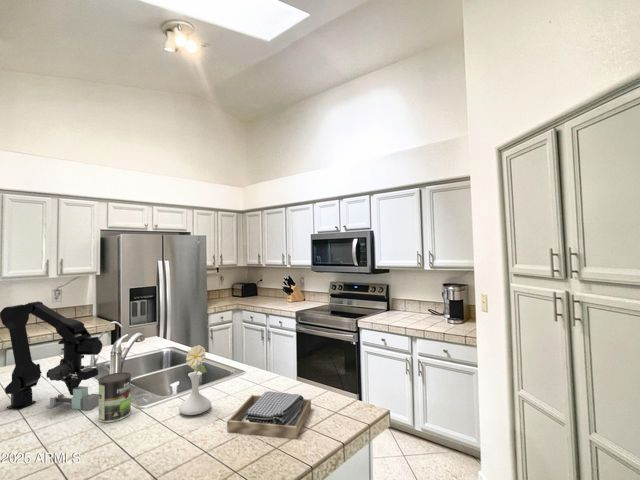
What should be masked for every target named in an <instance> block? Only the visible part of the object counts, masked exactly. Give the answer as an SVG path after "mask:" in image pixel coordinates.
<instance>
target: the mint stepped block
mask: <svg viewBox="0 0 640 480" xmlns="http://www.w3.org/2000/svg"><path fill="white" fill-rule="evenodd" d="M89 395H90V394H89V386H81V385H79V386H78V387H77V388H74V389H73V395H72V397H71V398H72V403H71V409H72V410H83V405H82V400H83V398H85V397H87V396H89Z"/></svg>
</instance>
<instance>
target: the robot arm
mask: <svg viewBox="0 0 640 480" xmlns="http://www.w3.org/2000/svg"><path fill="white" fill-rule="evenodd" d="M30 315H32V316H35V317H36V318H37V319H39V320H41V321H43V322H45V323H47V324H48V325H50V326H51V327H53V328H54V329H55V331H56V334H58V335H59V336H60V337H61V338H62V339H60V340H59V341H58V342H57V344H58V345H63V358H60V360H59V364H57V365H56V366H55V367H53V368H50V369H48V370H47V372H46V378H49V381H56V382H59V381H62V382H63V383H64V384H65V386H66V388H67V390H68V392H69V395H70V396H73V389H74V388H77V387H79V386H80V384H81V383H82V381H87V380H90V379H92V378H94V377H97V376H98V375H99V369H98V368H97V367H87V368H85V365H83V364H82V359H85V356H97V355H99V354H100V353H101V352H102V349H103V343H102V341H101V340H100V339H99V338H100V337H99V336H93V337H92V335H91V334H90V332H89V331H88V329H87V328H86V327H85V323H84V322H82V321H80V320H77V319H75V318H70V317H66V316H63V315H62V314H60V313H59V312H57V311H55V310H53V309H52V308H51V307H48V306H47V305H45V304H44V303H43V302H42V301H32V302H31V301H30V302H28V303H25V304H17V305H11V306H6V307H3V308H2V310H1V311H0V320H1V324H2V325H3V326H4V327H5V328H6V329H8V332H9V337H10V343H11V348H12V354H13V359H14V365H15V366H14V368H13V370H12V372H11V381H10V383H8V384H7V386H6V387H5V388H4V392H5V395H10V404H9V405H8V406H6V409H9V410H12V409H13V410H21V409H23V408H26V407H28V406H31V405H32V404H35V403H37V401H36V400H33V387H36V386H37V385H38V383H39V380H40V379H41V374H42V370H41V365H40V363H37V364H36V363H35V362H33V360H32V355H31V354H32V353H31V349H30V344H29V343H30V342H29V337H28V333H27V327H26V326H27V323H28V322H29V319H30ZM84 368H85V369H84Z"/></svg>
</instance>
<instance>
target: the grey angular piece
mask: <svg viewBox="0 0 640 480" xmlns="http://www.w3.org/2000/svg"><path fill="white" fill-rule="evenodd" d="M64 396H65V394H62V393H60V394H57V396H55V397H51V398H49V405H47V406H46V407H45V409H46V410H47V409H50V410H52V409H53V408H55V407H57V405H58V406H60V405H62V404H64V403H69V404H72V398H73V397H71V398H70V397H64ZM82 405H83V408H82V411H91V410H93V409H95V408H97V407H99V393H90V394H89V396H87V397H85V398H83V400H82Z"/></svg>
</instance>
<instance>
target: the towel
mask: <svg viewBox="0 0 640 480" xmlns="http://www.w3.org/2000/svg"><path fill="white" fill-rule="evenodd" d="M260 396H261V397H260V398H259V399H258V400H257V401H256V403H255V404H253V406H251V407H250V408H249V409H248V410H247V412H246V414H245V415H246V417H245V421H248V422H255V423H266V424H276V425H287V426H295V424H296V422H297V420H298V419H299V417H300V415H301V413H302V411H303V408H304V406H303V404H302V403H303V401H304V399H305V398H304V396H303V395H302V394H296V393H288V392H278V391H270V390H269V391H265V392H264V393H263V394H261V395H260Z"/></svg>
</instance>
